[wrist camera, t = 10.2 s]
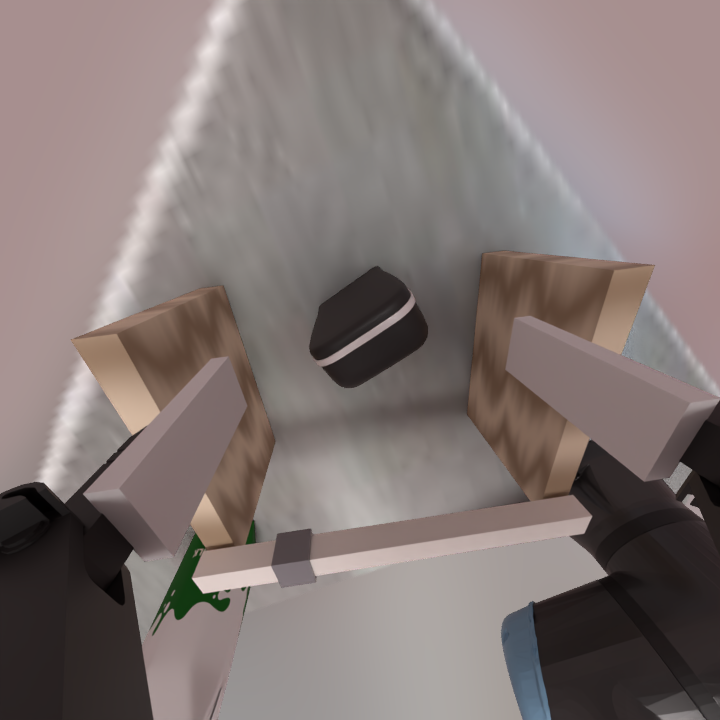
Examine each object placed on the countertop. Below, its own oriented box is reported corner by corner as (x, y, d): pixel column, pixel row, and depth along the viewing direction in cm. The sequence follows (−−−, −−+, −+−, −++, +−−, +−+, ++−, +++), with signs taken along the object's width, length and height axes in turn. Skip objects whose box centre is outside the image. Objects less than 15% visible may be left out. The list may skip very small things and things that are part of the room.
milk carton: (201, 554, 39) (84, 832, 21) (193, 515, 35) (40, 815, 17) (262, 553, 40) (202, 816, 22) (261, 515, 36) (186, 796, 18)
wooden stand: (483, 411, 31) (563, 508, 20) (258, 443, 30) (214, 561, 19) (504, 250, 23) (654, 264, 12) (200, 288, 22) (70, 339, 11)
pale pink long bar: (563, 512, 20) (585, 539, 18) (216, 566, 20) (204, 600, 18) (572, 488, 19) (596, 515, 17) (202, 544, 18) (187, 578, 16)
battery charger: (339, 338, 26) (342, 408, 15) (315, 307, 24) (301, 361, 14) (400, 298, 24) (447, 344, 14) (379, 262, 23) (414, 285, 12)
